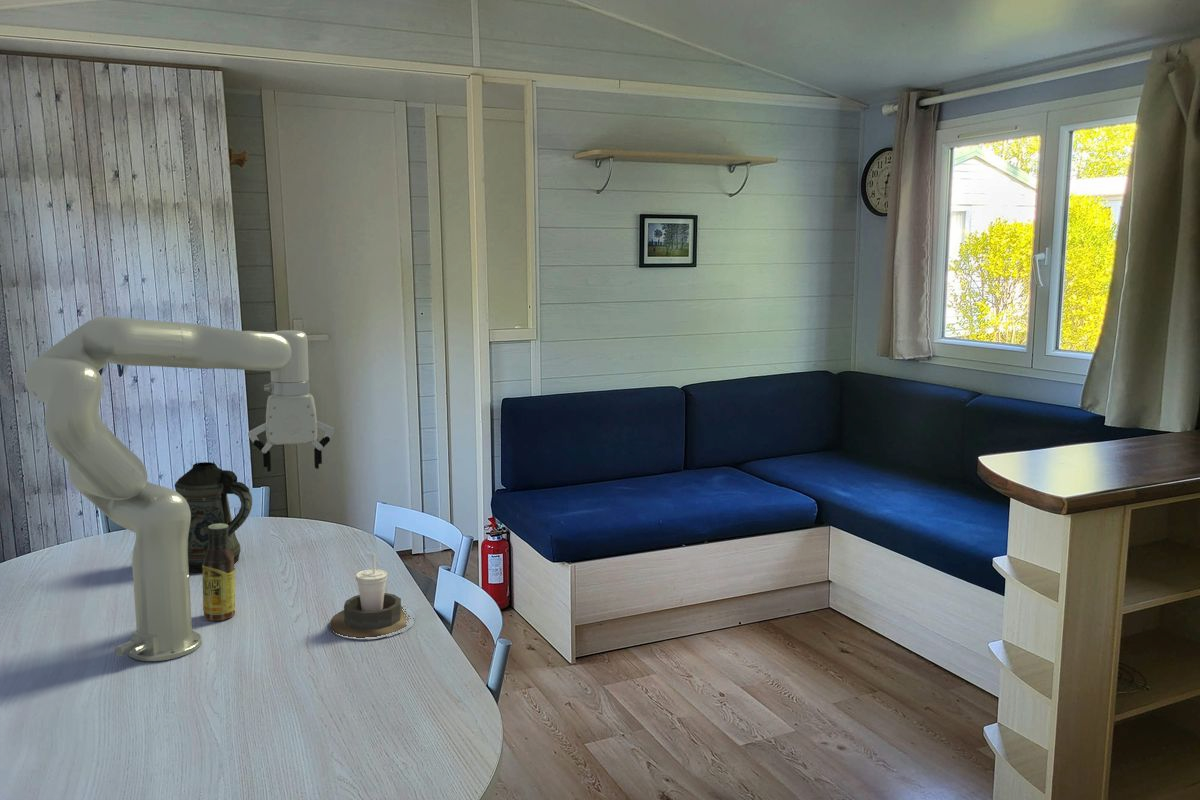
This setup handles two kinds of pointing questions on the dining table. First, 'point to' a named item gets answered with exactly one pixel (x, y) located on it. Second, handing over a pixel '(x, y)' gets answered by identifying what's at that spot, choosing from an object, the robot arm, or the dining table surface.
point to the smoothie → (371, 588)
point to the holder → (369, 618)
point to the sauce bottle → (218, 575)
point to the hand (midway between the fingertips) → (293, 468)
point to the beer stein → (211, 508)
